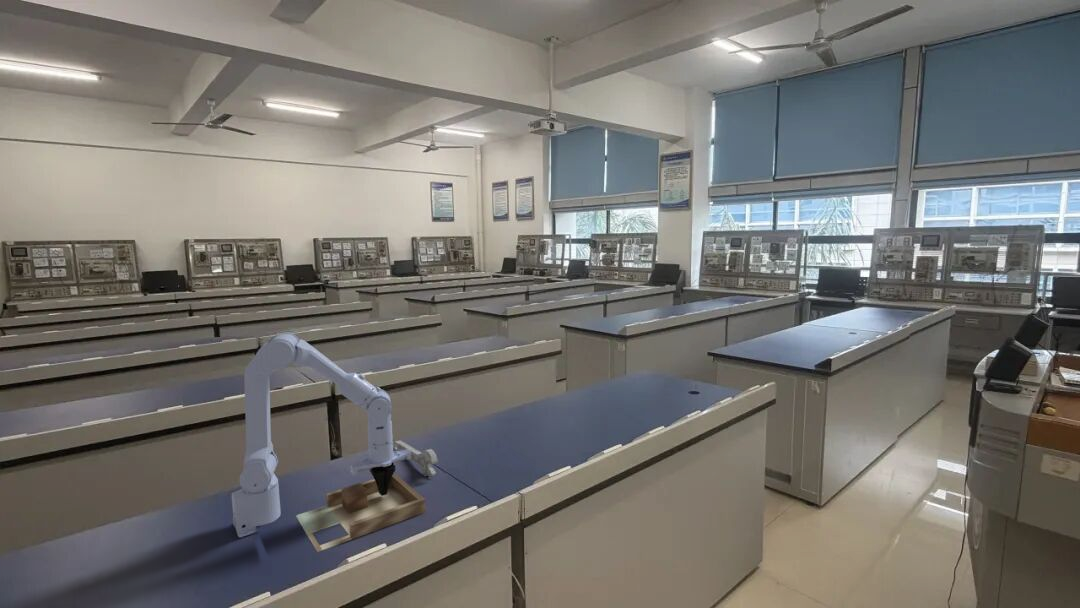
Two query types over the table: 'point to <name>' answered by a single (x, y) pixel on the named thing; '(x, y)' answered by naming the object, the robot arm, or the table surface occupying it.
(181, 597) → the table surface
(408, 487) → the cubby base
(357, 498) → the walnut block
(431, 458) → the wrench
